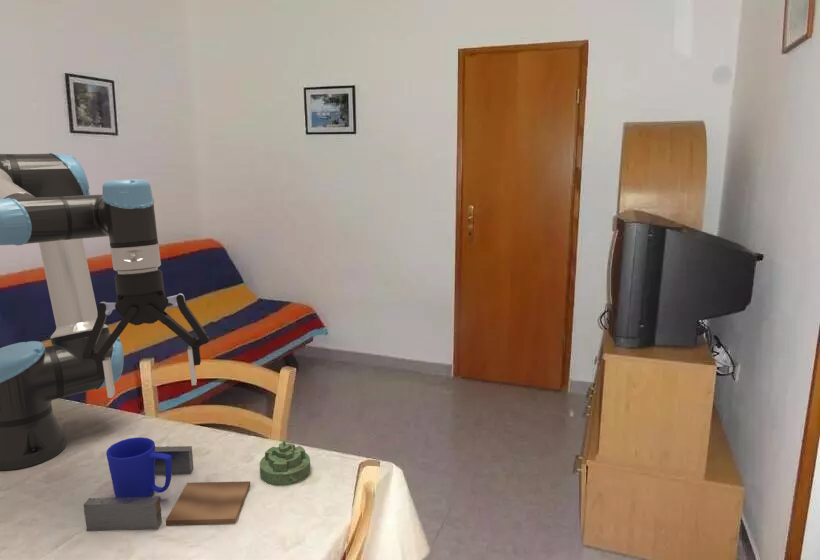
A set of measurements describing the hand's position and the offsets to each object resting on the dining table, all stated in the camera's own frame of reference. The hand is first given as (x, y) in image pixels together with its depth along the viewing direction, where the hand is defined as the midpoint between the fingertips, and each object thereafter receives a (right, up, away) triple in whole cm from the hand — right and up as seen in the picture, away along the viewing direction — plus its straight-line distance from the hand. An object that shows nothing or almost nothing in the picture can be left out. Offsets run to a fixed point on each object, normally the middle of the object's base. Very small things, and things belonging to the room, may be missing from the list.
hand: (153, 389), depth 105 cm
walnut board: (+8, -22, +5) cm, 24 cm away
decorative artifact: (+20, -20, +16) cm, 33 cm away
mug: (-5, -22, +7) cm, 23 cm away
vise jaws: (-5, -21, +8) cm, 23 cm away
